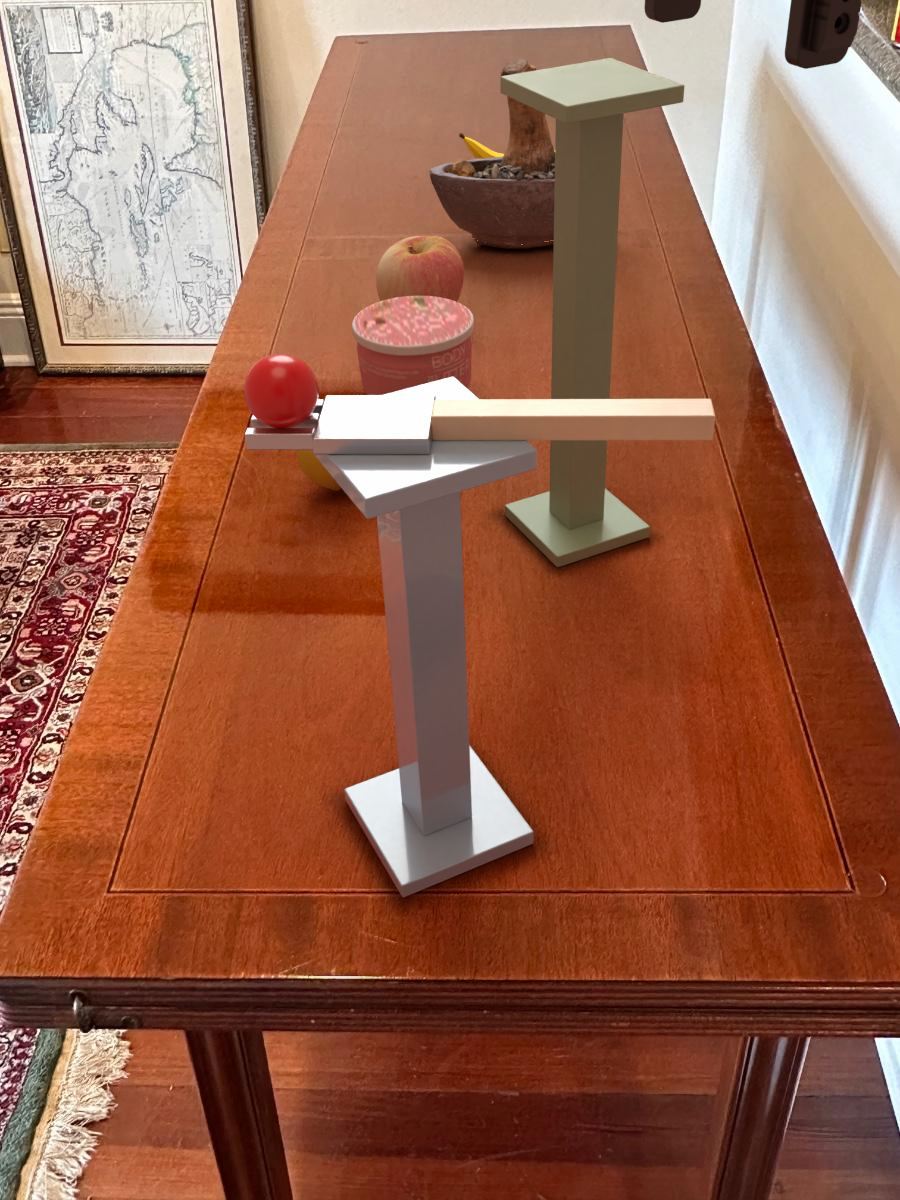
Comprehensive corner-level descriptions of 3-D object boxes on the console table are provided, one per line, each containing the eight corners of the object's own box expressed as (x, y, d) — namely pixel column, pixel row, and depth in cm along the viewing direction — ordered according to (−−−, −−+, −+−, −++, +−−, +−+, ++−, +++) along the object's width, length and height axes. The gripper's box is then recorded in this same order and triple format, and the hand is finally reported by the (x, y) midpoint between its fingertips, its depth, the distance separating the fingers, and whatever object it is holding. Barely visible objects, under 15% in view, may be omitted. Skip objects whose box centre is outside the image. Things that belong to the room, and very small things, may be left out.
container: (466, 371, 112) (464, 290, 107) (484, 424, 104) (482, 339, 99) (355, 382, 111) (347, 300, 106) (364, 437, 103) (356, 351, 98)
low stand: (534, 843, 66) (537, 449, 51) (402, 898, 63) (365, 499, 48) (468, 753, 72) (453, 375, 57) (345, 800, 69) (295, 416, 54)
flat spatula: (705, 409, 53) (713, 333, 51) (716, 455, 50) (725, 377, 48) (259, 410, 54) (248, 337, 52) (242, 455, 51) (229, 379, 49)
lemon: (291, 504, 95) (279, 415, 90) (314, 468, 99) (303, 381, 94) (358, 511, 93) (349, 421, 88) (378, 475, 98) (371, 386, 93)
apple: (468, 302, 125) (466, 226, 120) (460, 338, 118) (458, 260, 113) (386, 301, 125) (380, 226, 121) (373, 338, 118) (367, 260, 114)
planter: (425, 247, 137) (416, 61, 125) (528, 209, 146) (528, 32, 134) (516, 281, 128) (516, 85, 116) (620, 239, 137) (629, 52, 125)
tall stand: (649, 537, 89) (685, 84, 70) (557, 568, 86) (567, 106, 67) (592, 487, 95) (611, 57, 75) (504, 515, 92) (499, 76, 73)
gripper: (561, -531, 38) (553, 19, 48) (872, -625, 28) (781, 99, 38) (751, -526, 41) (706, -4, 51) (1100, -611, 31) (959, 65, 40)
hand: (738, 40), depth 44 cm, fingers open, 8 cm apart
